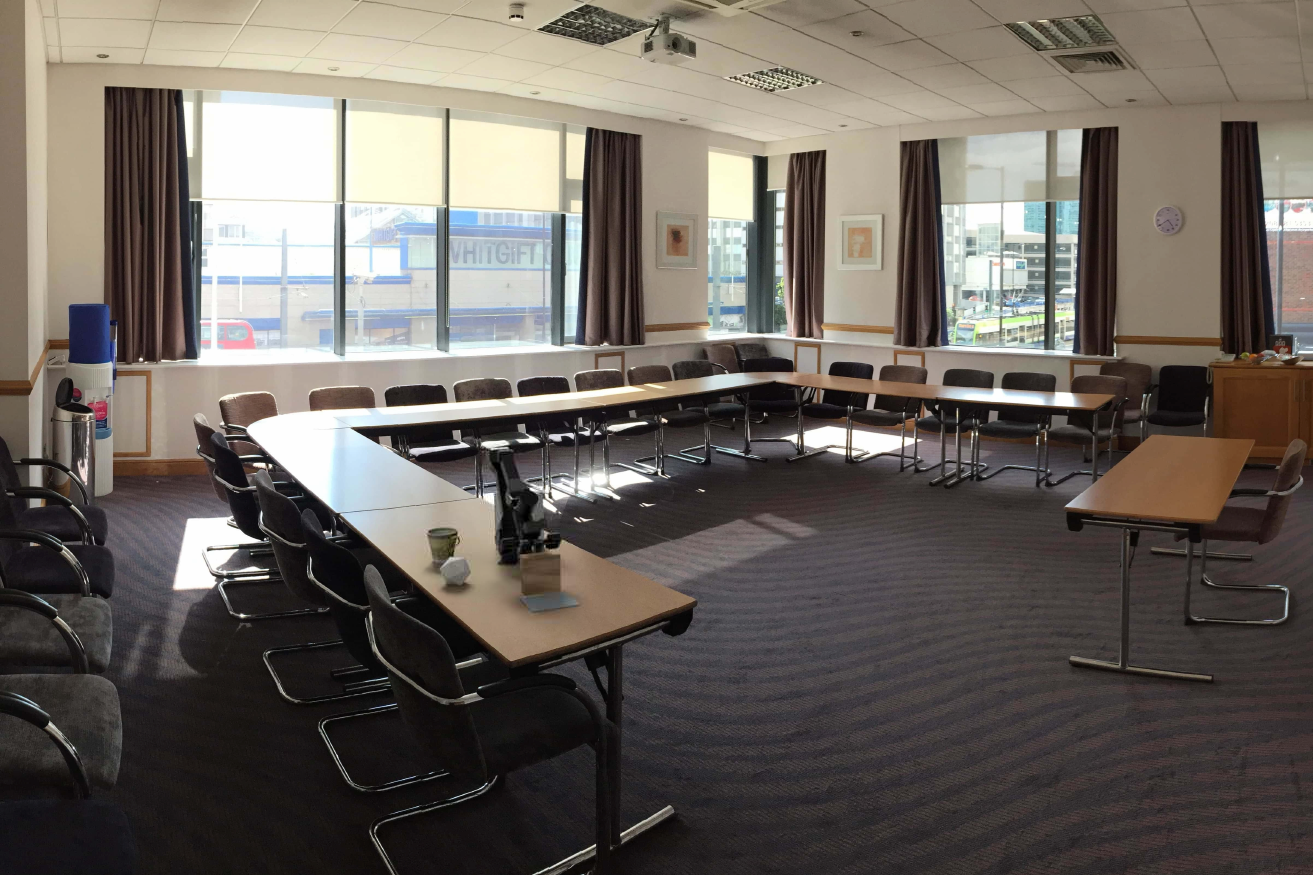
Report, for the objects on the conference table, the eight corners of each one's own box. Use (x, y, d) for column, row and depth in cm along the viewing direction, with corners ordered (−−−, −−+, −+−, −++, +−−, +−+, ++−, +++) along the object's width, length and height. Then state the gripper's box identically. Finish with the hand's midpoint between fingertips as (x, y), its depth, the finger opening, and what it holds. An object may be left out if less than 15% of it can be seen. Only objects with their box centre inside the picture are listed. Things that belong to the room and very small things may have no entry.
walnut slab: (521, 594, 276) (520, 554, 274) (556, 589, 281) (555, 550, 279) (525, 598, 273) (524, 558, 271) (560, 593, 277) (560, 554, 275)
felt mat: (520, 599, 272) (520, 598, 271) (566, 592, 277) (566, 591, 277) (532, 612, 261) (532, 611, 261) (580, 605, 267) (580, 604, 267)
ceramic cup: (421, 561, 308) (420, 531, 306) (444, 554, 316) (443, 525, 315) (448, 568, 301) (447, 538, 299) (471, 560, 309) (470, 531, 307)
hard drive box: (545, 546, 326) (544, 490, 322) (536, 552, 318) (535, 495, 315) (504, 543, 330) (503, 488, 327) (494, 548, 323) (493, 492, 319)
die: (475, 582, 289) (464, 554, 292) (471, 576, 281) (460, 548, 283) (450, 593, 287) (439, 565, 290) (445, 588, 279) (434, 559, 282)
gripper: (500, 512, 277) (511, 558, 269) (559, 506, 285) (572, 550, 277) (493, 532, 285) (504, 576, 277) (552, 525, 293) (564, 569, 285)
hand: (536, 567), depth 279 cm, fingers closed
